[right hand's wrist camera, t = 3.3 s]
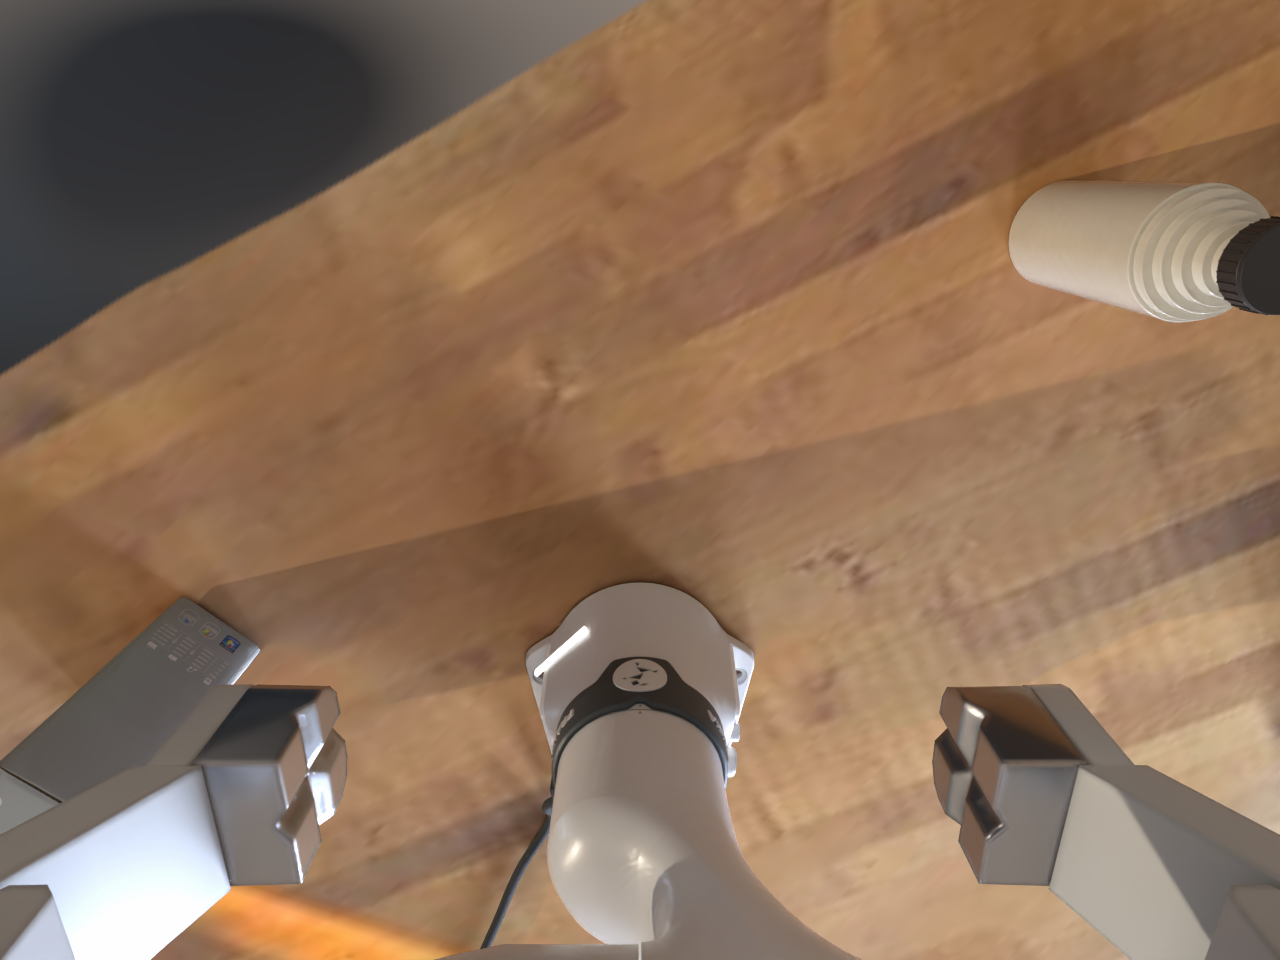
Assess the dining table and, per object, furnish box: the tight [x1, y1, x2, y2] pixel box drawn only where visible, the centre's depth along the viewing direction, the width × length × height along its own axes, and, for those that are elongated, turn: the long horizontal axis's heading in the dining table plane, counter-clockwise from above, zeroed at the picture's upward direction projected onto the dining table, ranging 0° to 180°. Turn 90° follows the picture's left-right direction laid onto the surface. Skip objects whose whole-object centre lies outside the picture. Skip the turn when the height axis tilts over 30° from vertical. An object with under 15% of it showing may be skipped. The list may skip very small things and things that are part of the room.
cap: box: [1216, 216, 1280, 315], centre depth 36 cm, size 4×4×2 cm
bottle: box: [1009, 180, 1270, 322], centre depth 45 cm, size 7×7×20 cm
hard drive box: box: [0, 597, 260, 835], centre depth 58 cm, size 16×8×20 cm, turn 138°
